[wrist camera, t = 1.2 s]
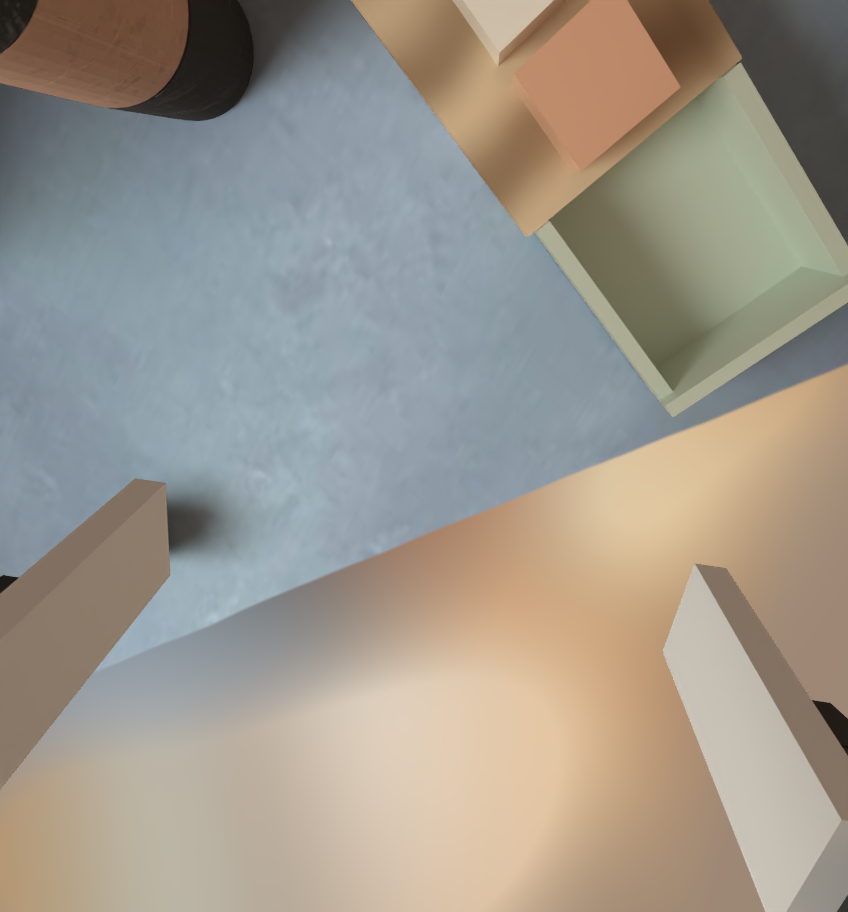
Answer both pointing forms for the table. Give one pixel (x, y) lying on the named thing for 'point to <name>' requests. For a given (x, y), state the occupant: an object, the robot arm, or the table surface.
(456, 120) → the flat wooden block
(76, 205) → the table surface
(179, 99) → the travel mug
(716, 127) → the tray
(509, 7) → the beige square block
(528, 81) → the terracotta clay block
